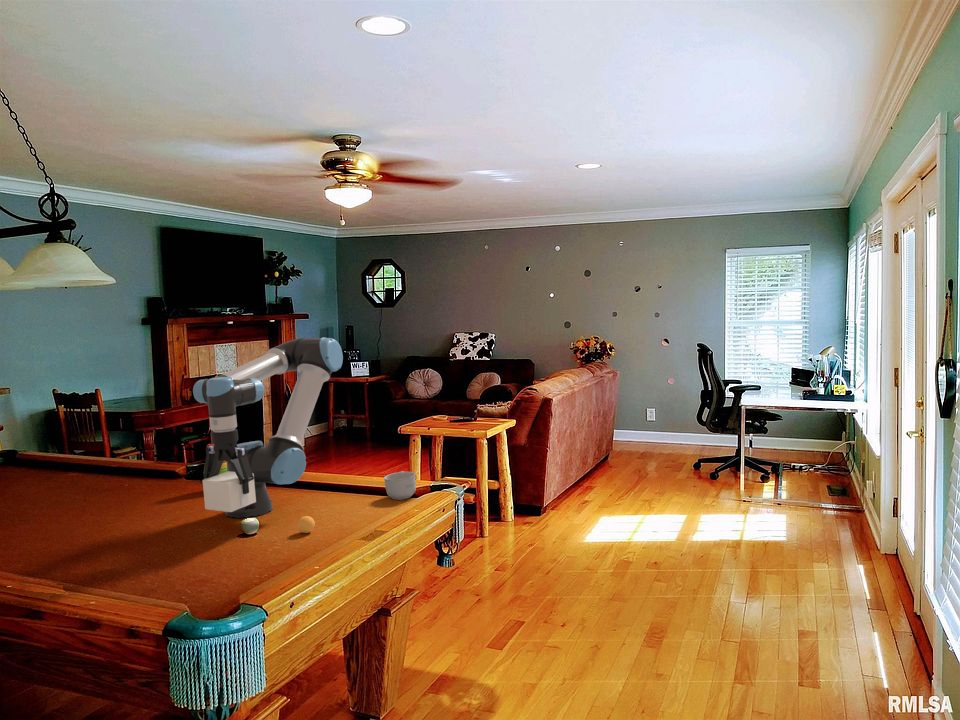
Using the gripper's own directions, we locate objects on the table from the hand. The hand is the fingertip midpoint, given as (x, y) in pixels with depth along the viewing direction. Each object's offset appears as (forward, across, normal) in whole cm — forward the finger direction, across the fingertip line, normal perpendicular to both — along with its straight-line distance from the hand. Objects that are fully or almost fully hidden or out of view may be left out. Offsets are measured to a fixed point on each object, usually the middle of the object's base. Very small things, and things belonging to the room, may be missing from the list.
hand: (230, 502), depth 220 cm
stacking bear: (+11, -47, +40) cm, 63 cm away
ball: (+8, +20, +9) cm, 23 cm away
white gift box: (+1, 0, 0) cm, 1 cm away
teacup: (+12, +26, +53) cm, 60 cm away
